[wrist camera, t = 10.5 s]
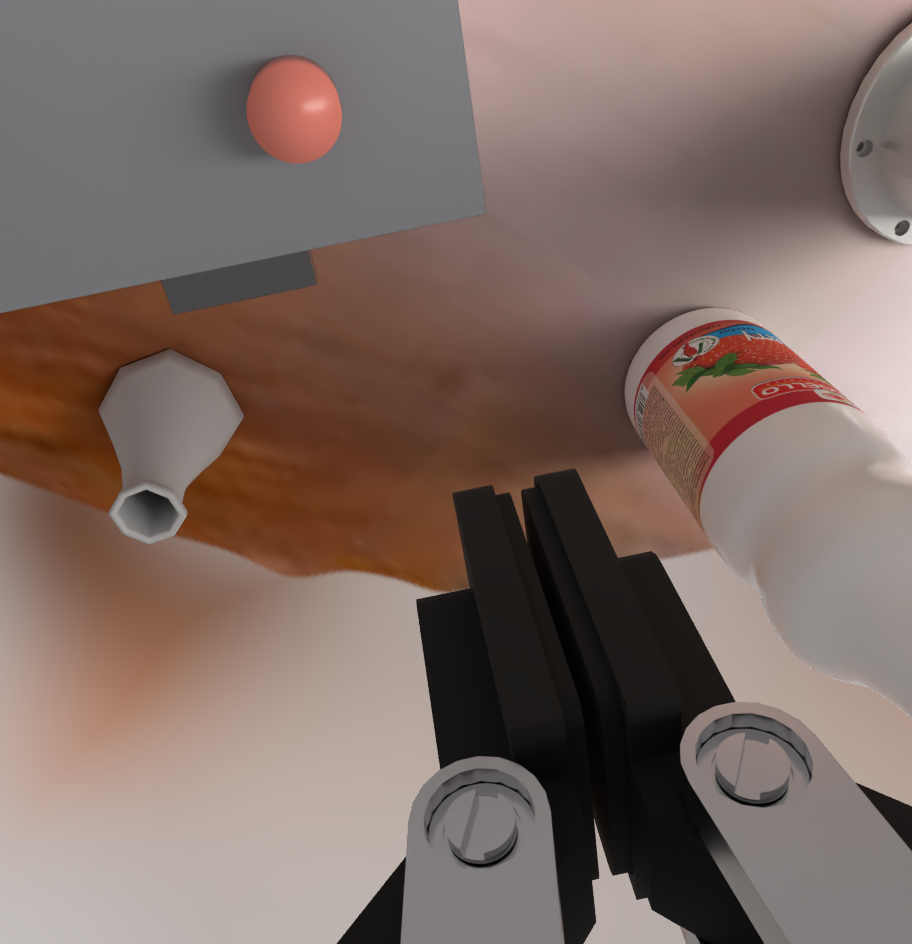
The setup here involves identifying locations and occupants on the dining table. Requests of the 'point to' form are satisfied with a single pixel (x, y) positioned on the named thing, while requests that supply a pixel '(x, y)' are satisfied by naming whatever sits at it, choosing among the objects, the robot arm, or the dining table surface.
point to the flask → (164, 438)
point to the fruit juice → (786, 490)
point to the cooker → (240, 282)
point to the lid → (221, 134)
